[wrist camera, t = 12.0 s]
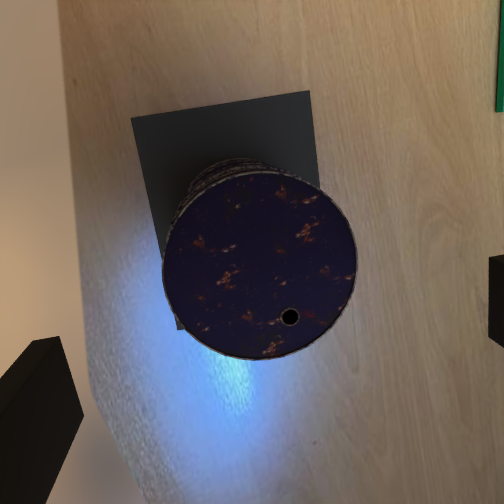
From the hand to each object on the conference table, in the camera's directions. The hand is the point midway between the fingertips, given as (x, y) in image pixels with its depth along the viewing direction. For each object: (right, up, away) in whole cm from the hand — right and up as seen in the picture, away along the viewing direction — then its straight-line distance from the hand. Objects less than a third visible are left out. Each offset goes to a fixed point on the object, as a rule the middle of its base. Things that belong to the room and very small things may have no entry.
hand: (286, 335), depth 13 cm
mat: (-2, +5, +22) cm, 23 cm away
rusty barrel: (-2, +5, +22) cm, 23 cm away
